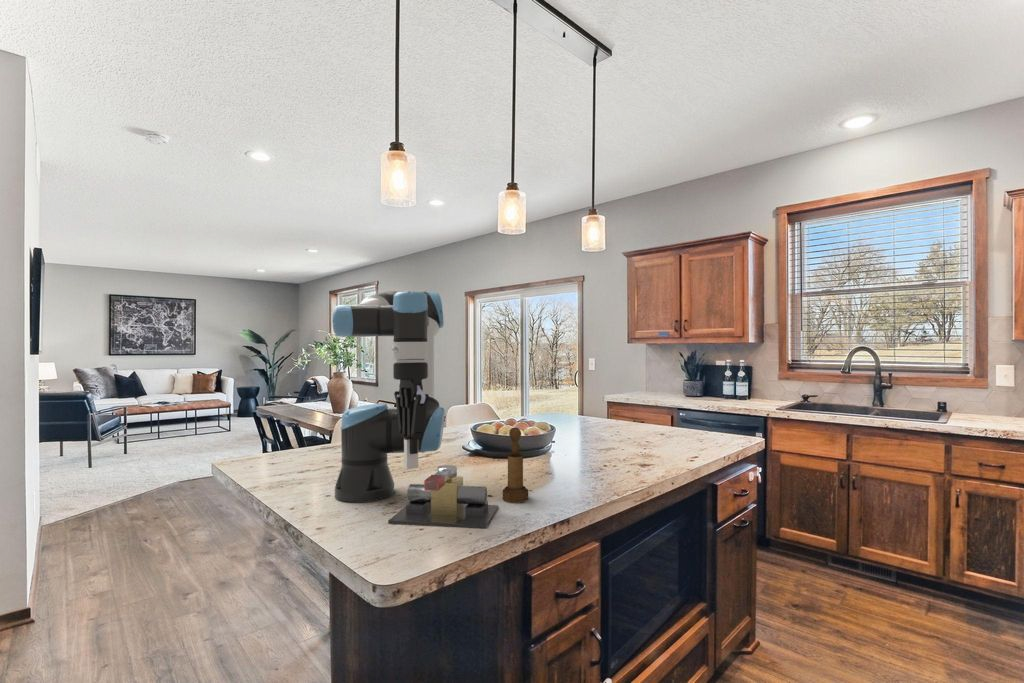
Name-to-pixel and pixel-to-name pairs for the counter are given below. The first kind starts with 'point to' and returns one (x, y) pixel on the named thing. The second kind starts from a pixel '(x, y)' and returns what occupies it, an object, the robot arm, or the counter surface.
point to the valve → (447, 506)
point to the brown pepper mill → (515, 472)
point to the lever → (440, 477)
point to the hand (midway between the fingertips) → (411, 467)
